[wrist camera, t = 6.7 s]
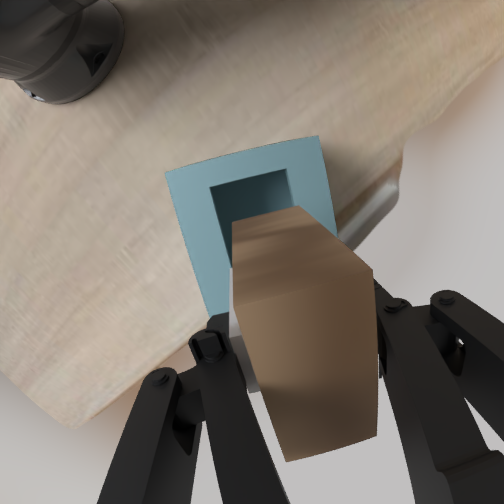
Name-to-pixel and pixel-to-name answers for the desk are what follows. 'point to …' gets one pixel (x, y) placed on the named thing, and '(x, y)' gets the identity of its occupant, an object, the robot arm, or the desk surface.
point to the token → (307, 330)
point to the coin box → (244, 203)
